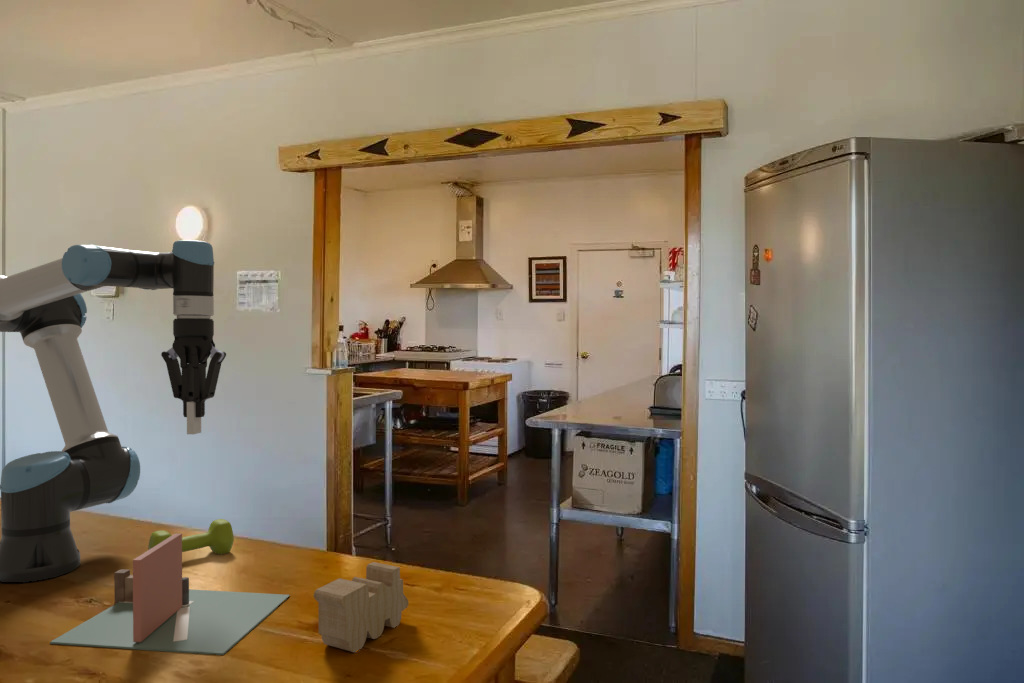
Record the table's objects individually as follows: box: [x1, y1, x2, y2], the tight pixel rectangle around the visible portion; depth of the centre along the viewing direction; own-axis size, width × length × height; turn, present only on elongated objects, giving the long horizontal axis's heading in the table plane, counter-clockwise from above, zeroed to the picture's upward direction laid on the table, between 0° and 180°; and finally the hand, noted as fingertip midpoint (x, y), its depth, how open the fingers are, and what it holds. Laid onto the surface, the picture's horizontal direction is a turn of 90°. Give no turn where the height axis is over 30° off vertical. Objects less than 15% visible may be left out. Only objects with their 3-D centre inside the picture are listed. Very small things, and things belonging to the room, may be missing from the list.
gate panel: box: [132, 533, 183, 642], centre depth 117 cm, size 14×1×13 cm, turn 0°
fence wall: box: [113, 569, 190, 605], centre depth 127 cm, size 14×2×6 cm, turn 83°
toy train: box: [313, 561, 409, 653], centre depth 114 cm, size 6×17×10 cm, turn 152°
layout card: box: [49, 588, 291, 656], centre depth 121 cm, size 29×24×1 cm
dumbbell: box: [147, 518, 235, 555], centre depth 152 cm, size 16×8×7 cm, turn 134°
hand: (194, 433), depth 143 cm, fingers closed
